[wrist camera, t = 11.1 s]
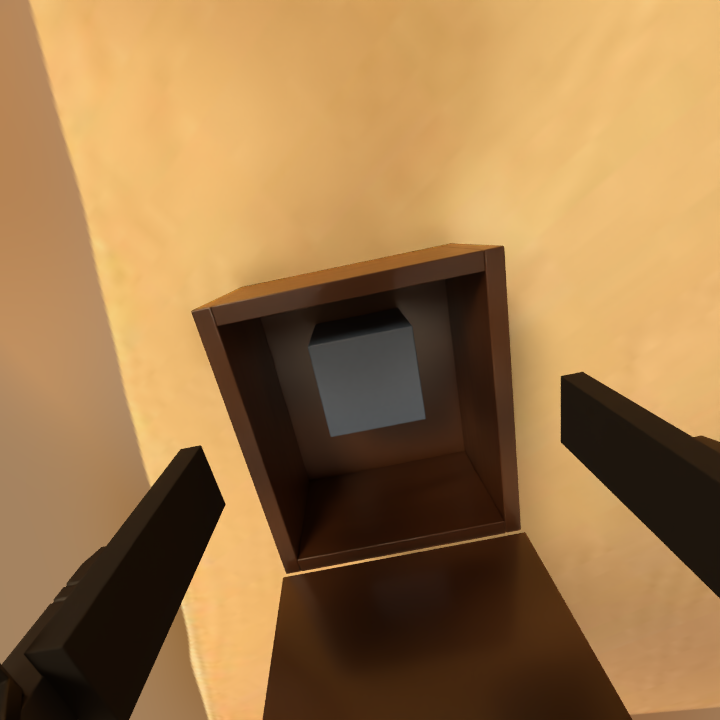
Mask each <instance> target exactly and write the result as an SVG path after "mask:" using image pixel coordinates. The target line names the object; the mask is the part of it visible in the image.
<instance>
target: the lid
mask: <svg viewBox="0 0 720 720" xmlns="http://www.w3.org/2000/svg"><path fill="white" fill-rule="evenodd" d="M263 720H632V718H631V717H630V715H629V713H628V711H627V709H626V708H625V706H624V704H623V702H622V701H621V699H620V697H619V695H618V694H617V692H616V690H615V688H614V687H613V685H612V683H611V681H610V680H609V678H608V676H607V674H606V673H605V671H604V669H603V668H602V666H601V664H600V662H599V661H598V659H597V657H596V655H595V654H594V652H593V650H592V648H591V647H590V645H589V643H588V641H587V640H586V638H585V636H584V634H583V633H582V631H581V629H580V627H579V626H578V624H577V622H576V620H575V619H574V617H573V615H572V613H571V612H570V610H569V608H568V606H567V605H566V603H565V601H564V599H563V598H562V596H561V594H560V592H559V591H558V589H557V587H556V585H555V584H554V582H553V580H552V578H551V577H550V575H549V573H548V571H547V570H546V568H545V566H544V564H543V563H542V561H541V559H540V557H539V556H538V554H537V552H536V550H535V549H534V547H533V545H532V543H531V542H530V540H529V538H528V536H527V535H526V533H525V532H524V533H519V534H514V535H508V536H503V537H498V538H492V539H487V540H482V541H476V542H471V543H466V544H460V545H455V546H450V547H444V548H439V549H434V550H428V551H423V552H417V553H412V554H407V555H401V556H396V557H391V558H385V559H380V560H375V561H369V562H364V563H359V564H353V565H348V566H343V567H337V568H332V569H327V570H321V571H316V572H311V573H305V574H300V575H294V576H289V577H284V578H283V583H282V590H281V597H280V603H279V610H278V617H277V624H276V631H275V638H274V645H273V652H272V658H271V665H270V672H269V679H268V686H267V693H266V700H265V707H264V713H263Z"/></svg>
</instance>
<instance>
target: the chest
mask: <svg viewBox="0 0 720 720" xmlns="http://www.w3.org/2000/svg"><path fill="white" fill-rule="evenodd" d="M395 308H399V310H400V311H401V312H402V314H403V315H404V316H405V317H406V319H407V320H408V321H409V323H410V324H411V325H412V327H413V333H414V340H415V347H416V354H417V360H418V367H419V374H420V381H421V388H422V394H423V401H424V408H425V415H426V419H423V420H418V421H413V422H408V423H402V424H397V425H392V426H387V427H381V428H376V429H371V430H366V431H361V432H355V433H350V434H345V435H340V436H335V437H331V436H330V433H329V429H328V425H327V421H326V417H325V413H324V409H323V405H322V401H321V397H320V393H319V389H318V386H317V382H316V378H315V374H314V370H313V366H312V362H311V358H310V354H309V350H308V345H309V342H310V339H311V336H312V333H313V330H314V327H315V325H316V324H320V323H325V322H330V321H335V320H340V319H345V318H350V317H355V316H360V315H365V314H370V313H375V312H380V311H385V310H390V309H395ZM191 312H192V315H193V318H194V321H195V323H196V326H197V329H198V332H199V334H200V337H201V340H202V343H203V345H204V348H205V351H206V354H207V356H208V359H209V362H210V365H211V367H212V370H213V373H214V376H215V378H216V381H217V384H218V387H219V389H220V392H221V395H222V398H223V400H224V403H225V406H226V409H227V411H228V414H229V417H230V420H231V422H232V425H233V428H234V431H235V433H236V436H237V439H238V442H239V444H240V447H241V450H242V453H243V455H244V458H245V461H246V464H247V467H248V469H249V472H250V475H251V478H252V480H253V483H254V486H255V489H256V491H257V494H258V497H259V500H260V502H261V505H262V508H263V511H264V513H265V516H266V519H267V522H268V524H269V527H270V530H271V533H272V535H273V538H274V541H275V544H276V546H277V549H278V552H279V555H280V557H281V560H282V563H283V566H284V568H285V571H286V573H287V574H289V573H294V572H299V571H305V570H311V569H316V568H321V567H327V566H332V565H337V564H343V563H348V562H354V561H359V560H364V559H370V558H375V557H380V556H386V555H391V554H396V553H402V552H407V551H412V550H418V549H423V548H428V547H434V546H439V545H444V544H450V543H455V542H460V541H466V540H471V539H476V538H482V537H487V536H492V535H498V534H503V533H505V532H512V531H518V530H521V525H520V508H519V491H518V474H517V457H516V440H515V423H514V406H513V389H512V372H511V355H510V338H509V321H508V305H507V288H506V271H505V254H504V246H495V245H472V244H452V243H451V244H446V245H441V246H436V247H431V248H427V249H422V250H417V251H412V252H407V253H403V254H398V255H393V256H388V257H384V258H379V259H374V260H369V261H364V262H360V263H355V264H350V265H345V266H341V267H336V268H331V269H326V270H321V271H317V272H312V273H307V274H302V275H297V276H293V277H288V278H283V279H278V280H274V281H269V282H264V283H259V284H254V285H250V286H245V287H241V288H239V289H237V290H235V291H232V292H230V293H228V294H226V295H224V296H222V297H220V298H218V299H215V300H213V301H211V302H209V303H207V304H205V305H203V306H201V307H198V308H196V309H194V310H192V311H191Z"/></svg>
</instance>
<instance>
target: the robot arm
mask: <svg viewBox="0 0 720 720" xmlns="http://www.w3.org/2000/svg"><path fill="white" fill-rule="evenodd" d="M561 443H562V444H563V445H564V446H565V447H566V448H567V449H568V450H569V451H570V452H571V453H573V454H574V455H575V456H576V457H577V458H578V459H579V460H580V461H581V462H582V463H583V464H584V465H585V466H586V467H587V468H588V469H589V470H590V471H591V472H592V473H593V474H594V475H595V476H596V477H597V478H598V479H599V480H600V481H601V482H602V483H603V484H604V485H605V486H606V487H607V488H608V489H609V490H610V491H611V492H612V493H613V494H614V495H615V496H616V497H617V498H618V499H619V500H620V501H621V502H622V503H623V504H624V505H625V506H626V507H627V508H628V509H630V510H631V511H632V512H633V513H634V514H635V515H636V516H637V517H638V518H639V519H640V520H641V521H642V522H643V523H644V524H645V525H646V526H647V527H648V528H649V529H650V530H651V531H652V532H653V533H654V534H655V535H656V536H657V537H658V538H659V539H660V540H661V541H662V542H663V543H664V544H665V545H666V546H667V547H668V548H669V549H670V550H671V551H672V552H673V553H674V554H675V555H676V556H677V557H678V558H679V559H680V560H681V561H682V562H683V563H684V564H685V565H687V566H688V567H689V568H690V569H691V570H692V571H693V572H694V573H695V574H696V575H697V576H698V577H699V578H700V579H701V580H702V581H703V582H704V583H705V584H706V585H707V586H708V587H709V588H710V589H711V590H712V591H713V592H714V593H715V594H716V595H717V596H718V597H719V598H720V442H718V441H715V440H713V439H710V438H707V437H704V436H697V437H692V436H690V435H688V434H687V433H685V432H683V431H681V430H680V429H678V428H676V427H675V426H673V425H671V424H670V423H668V422H666V421H665V420H663V419H661V418H660V417H658V416H656V415H654V414H653V413H651V412H649V411H648V410H646V409H644V408H643V407H641V406H639V405H638V404H636V403H634V402H633V401H631V400H629V399H628V398H626V397H624V396H622V395H621V394H619V393H617V392H616V391H614V390H612V389H611V388H609V387H607V386H606V385H604V384H602V383H601V382H599V381H597V380H595V379H594V378H592V377H590V376H589V375H587V374H585V373H584V372H580V373H575V374H570V375H564V376H561ZM224 507H225V502H224V499H223V497H222V495H221V492H220V490H219V487H218V485H217V483H216V480H215V478H214V475H213V473H212V471H211V468H210V466H209V463H208V461H207V459H206V456H205V454H204V451H203V449H202V447H201V445H200V446H195V447H190V448H185V449H181V450H180V451H179V452H178V453H177V455H176V456H175V457H174V459H173V460H172V461H171V463H170V464H169V465H168V466H167V468H166V469H165V470H164V472H163V473H162V474H161V476H160V477H159V478H158V480H157V481H156V482H155V483H154V485H153V486H152V487H151V489H150V490H149V491H148V493H147V494H146V495H145V496H144V498H143V499H142V500H141V502H140V503H139V504H138V506H137V507H136V508H135V509H134V511H133V512H132V513H131V515H130V516H129V517H128V519H127V520H126V521H125V522H124V524H123V525H122V526H121V528H120V529H119V530H118V532H117V533H116V534H115V535H114V537H113V538H112V539H111V541H110V542H109V543H108V545H107V546H105V547H101V548H100V549H99V550H98V551H97V552H95V553H94V554H93V555H92V556H91V557H90V558H89V559H87V560H86V561H85V562H84V563H83V564H82V565H81V566H80V567H79V569H78V570H77V571H76V572H75V574H74V575H73V576H72V577H71V579H70V580H69V581H68V582H67V586H66V587H64V588H63V589H62V590H61V591H60V592H59V594H58V595H57V596H56V597H55V599H54V602H53V603H52V604H50V605H49V606H48V607H47V609H46V610H45V611H44V613H43V614H42V615H41V616H40V617H39V619H38V620H37V621H36V622H35V624H34V625H33V626H32V627H31V629H30V630H29V631H28V632H27V634H26V635H25V636H24V638H23V639H22V640H21V641H20V642H19V644H18V645H17V646H16V648H15V649H14V650H13V651H12V652H11V654H10V655H9V656H8V657H7V659H6V660H5V661H4V662H3V664H2V665H1V664H0V720H129V718H130V716H131V714H132V712H133V709H134V707H135V705H136V703H137V701H138V698H139V696H140V694H141V691H142V689H143V687H144V685H145V683H146V680H147V678H148V676H149V674H150V672H151V669H152V667H153V665H154V663H155V660H156V658H157V656H158V654H159V651H160V649H161V647H162V645H163V643H164V640H165V638H166V636H167V634H168V631H169V629H170V627H171V625H172V622H173V620H174V618H175V616H176V614H177V611H178V609H179V607H180V605H181V602H182V600H183V598H184V596H185V594H186V591H187V589H188V587H189V585H190V582H191V580H192V578H193V576H194V573H195V571H196V569H197V567H198V565H199V562H200V560H201V558H202V556H203V553H204V551H205V549H206V547H207V544H208V542H209V540H210V538H211V536H212V533H213V531H214V529H215V527H216V524H217V522H218V520H219V518H220V515H221V513H222V511H223V509H224Z"/></svg>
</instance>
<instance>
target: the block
mask: <svg viewBox="0 0 720 720" xmlns="http://www.w3.org/2000/svg"><path fill="white" fill-rule="evenodd" d="M308 350H309V354H310V358H311V362H312V366H313V370H314V374H315V378H316V382H317V386H318V389H319V393H320V397H321V401H322V405H323V409H324V413H325V417H326V421H327V425H328V429H329V433H330V436H331V437H335V436H340V435H345V434H350V433H355V432H361V431H366V430H371V429H376V428H381V427H387V426H392V425H397V424H402V423H408V422H413V421H418V420H423V419H426V415H425V408H424V401H423V394H422V388H421V381H420V374H419V367H418V360H417V354H416V347H415V340H414V333H413V327H412V325H411V324H410V323H409V321H408V320H407V319H406V317H405V316H404V315H403V314H402V312H401V311H400V310H399V308H395V309H390V310H385V311H380V312H375V313H370V314H365V315H360V316H355V317H350V318H345V319H340V320H335V321H330V322H325V323H320V324H316V325H315V327H314V330H313V333H312V336H311V339H310V342H309V345H308Z"/></svg>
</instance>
